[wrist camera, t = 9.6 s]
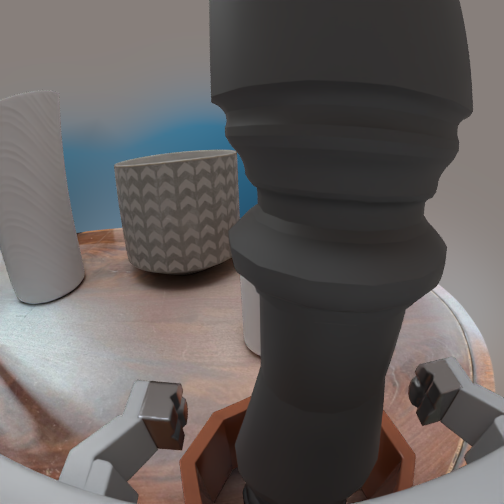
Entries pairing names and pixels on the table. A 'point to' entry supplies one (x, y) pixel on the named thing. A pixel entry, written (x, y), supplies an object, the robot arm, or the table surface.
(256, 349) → the beverage can
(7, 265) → the vase
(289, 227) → the candle holder
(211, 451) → the terracotta pot
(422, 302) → the table surface
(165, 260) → the planter
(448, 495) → the robot arm
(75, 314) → the table surface
